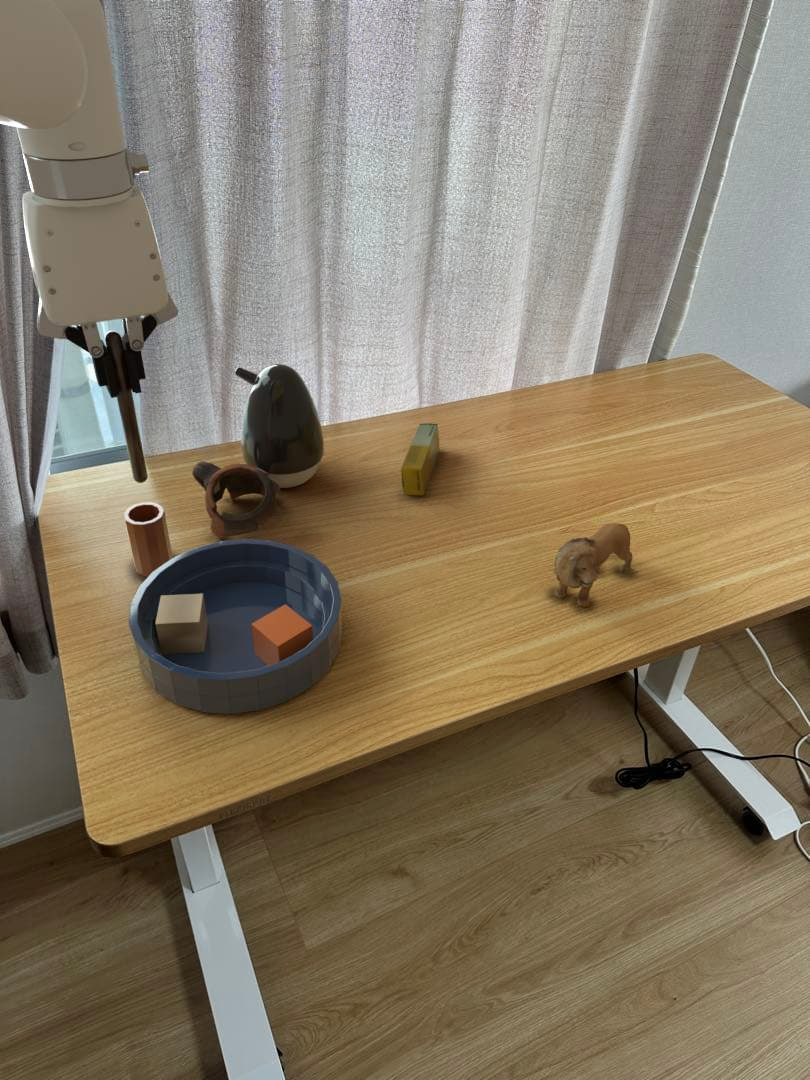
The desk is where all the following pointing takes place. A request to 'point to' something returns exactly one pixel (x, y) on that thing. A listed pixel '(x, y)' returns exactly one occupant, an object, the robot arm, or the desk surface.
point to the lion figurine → (590, 559)
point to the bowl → (238, 624)
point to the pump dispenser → (281, 426)
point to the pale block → (182, 623)
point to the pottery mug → (237, 483)
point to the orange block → (280, 635)
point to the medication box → (420, 459)
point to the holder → (148, 536)
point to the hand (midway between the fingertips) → (123, 388)
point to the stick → (127, 407)
